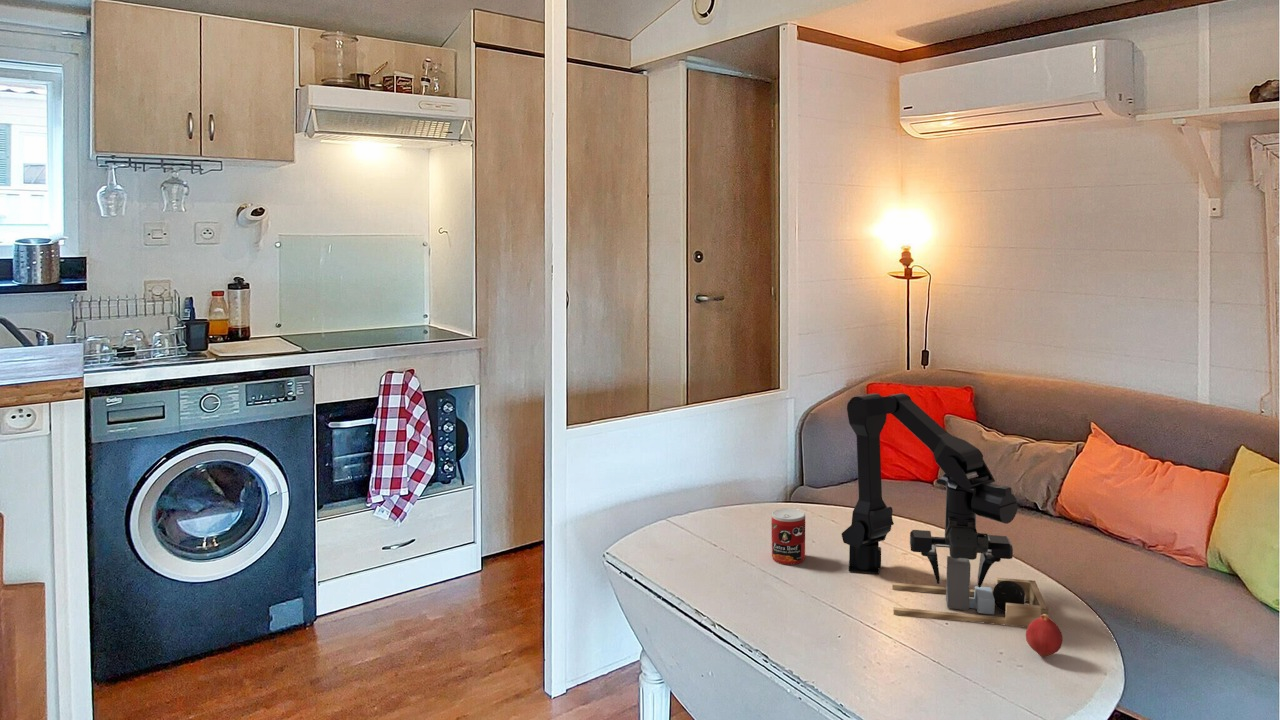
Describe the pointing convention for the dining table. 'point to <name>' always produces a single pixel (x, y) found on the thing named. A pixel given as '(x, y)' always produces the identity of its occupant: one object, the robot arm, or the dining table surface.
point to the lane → (938, 613)
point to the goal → (1023, 612)
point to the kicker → (966, 588)
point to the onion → (1044, 636)
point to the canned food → (788, 536)
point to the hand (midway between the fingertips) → (958, 584)
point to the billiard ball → (1008, 594)
